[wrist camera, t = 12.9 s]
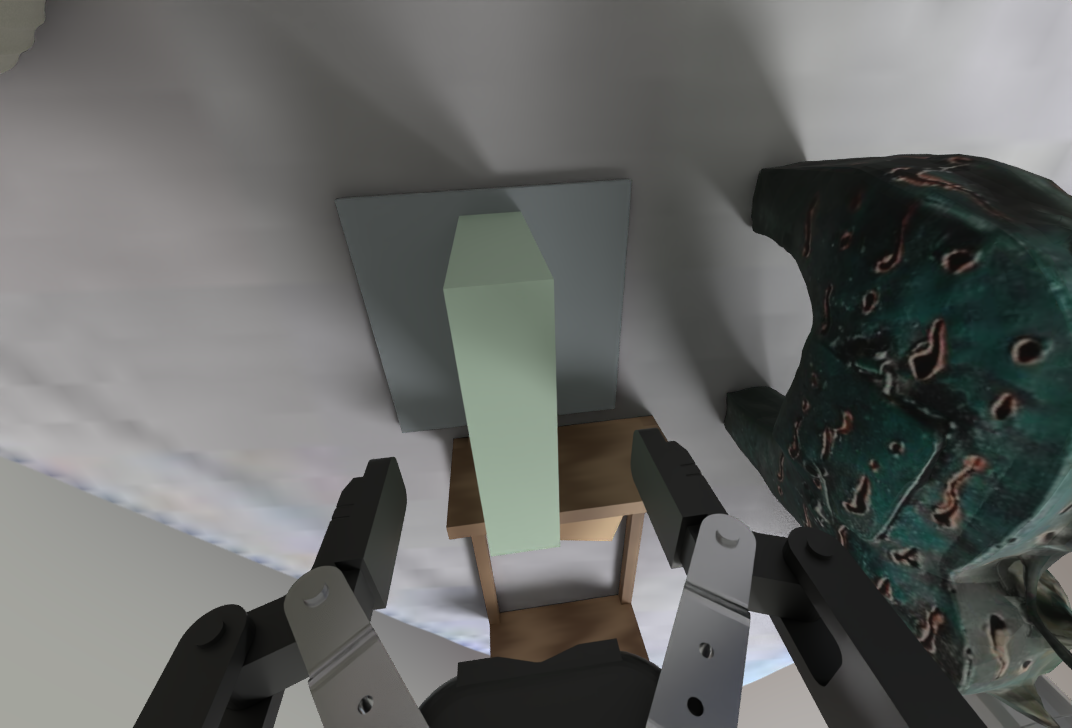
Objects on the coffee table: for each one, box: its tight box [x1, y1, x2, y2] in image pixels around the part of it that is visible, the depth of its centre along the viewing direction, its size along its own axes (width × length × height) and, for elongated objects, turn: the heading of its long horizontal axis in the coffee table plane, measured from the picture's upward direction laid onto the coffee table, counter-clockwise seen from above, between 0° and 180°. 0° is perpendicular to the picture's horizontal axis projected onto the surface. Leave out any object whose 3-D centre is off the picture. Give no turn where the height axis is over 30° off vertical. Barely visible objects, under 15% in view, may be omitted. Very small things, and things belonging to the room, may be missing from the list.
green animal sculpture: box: [724, 154, 1072, 728], centre depth 17 cm, size 20×6×20 cm, turn 9°
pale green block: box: [443, 211, 560, 556], centre depth 18 cm, size 3×12×10 cm, turn 3°
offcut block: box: [560, 516, 623, 541], centre depth 28 cm, size 8×4×4 cm, turn 79°
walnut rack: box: [446, 416, 668, 662], centre depth 31 cm, size 14×24×7 cm, turn 3°
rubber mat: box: [334, 179, 632, 433], centre depth 23 cm, size 14×14×1 cm
